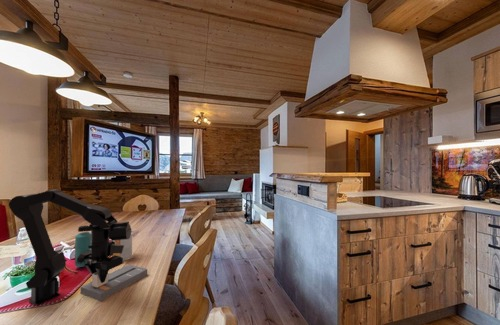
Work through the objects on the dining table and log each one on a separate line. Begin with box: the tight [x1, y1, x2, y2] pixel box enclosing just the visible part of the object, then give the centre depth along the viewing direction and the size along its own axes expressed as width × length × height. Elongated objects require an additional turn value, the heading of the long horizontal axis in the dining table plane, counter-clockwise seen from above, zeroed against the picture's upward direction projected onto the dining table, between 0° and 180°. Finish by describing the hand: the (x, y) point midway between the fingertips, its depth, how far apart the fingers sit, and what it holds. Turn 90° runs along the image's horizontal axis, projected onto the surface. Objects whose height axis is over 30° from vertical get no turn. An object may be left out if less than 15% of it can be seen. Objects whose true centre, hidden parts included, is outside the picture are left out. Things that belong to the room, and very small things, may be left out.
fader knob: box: [91, 272, 109, 287], centre depth 81 cm, size 4×3×6 cm
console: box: [80, 264, 148, 302], centre depth 87 cm, size 20×12×3 cm, turn 157°
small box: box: [111, 233, 133, 262], centre depth 111 cm, size 8×6×13 cm
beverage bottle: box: [74, 225, 91, 268], centre depth 101 cm, size 6×7×20 cm
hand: (100, 281), depth 81 cm, fingers closed on fader knob, 3 cm apart
